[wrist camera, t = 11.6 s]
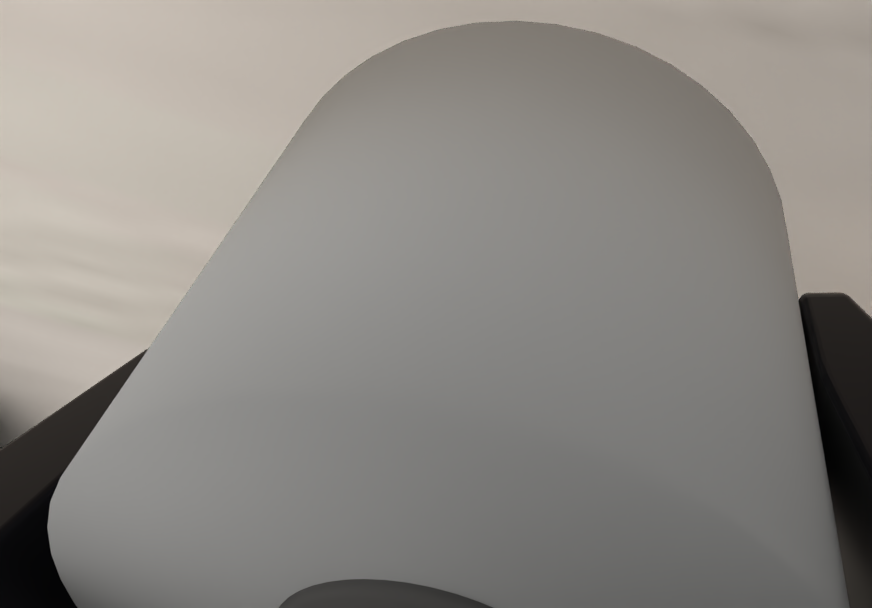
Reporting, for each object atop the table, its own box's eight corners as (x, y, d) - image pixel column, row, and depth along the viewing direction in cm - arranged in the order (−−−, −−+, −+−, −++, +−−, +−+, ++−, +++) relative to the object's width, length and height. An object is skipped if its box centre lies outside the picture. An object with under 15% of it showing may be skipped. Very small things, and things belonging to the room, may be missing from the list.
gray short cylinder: (772, 439, 11) (822, 895, 7) (351, 426, 13) (211, 787, 9) (809, -16, 7) (954, 433, 3) (206, 53, 9) (-136, 401, 5)
